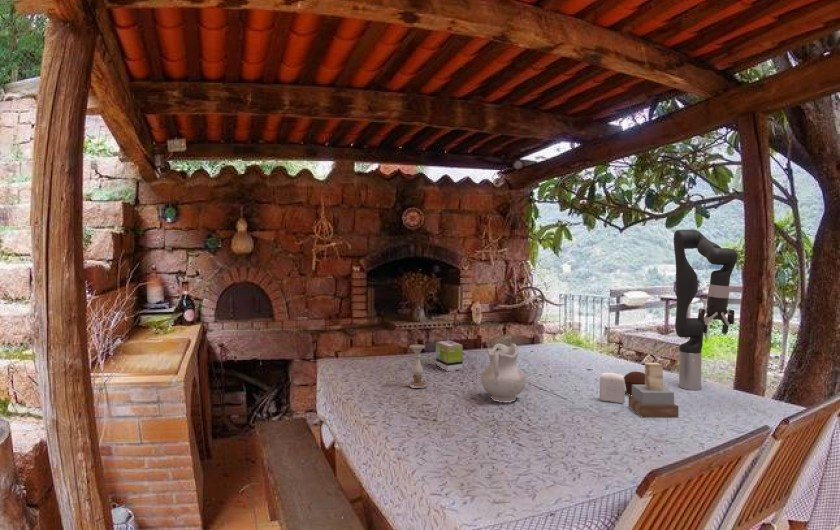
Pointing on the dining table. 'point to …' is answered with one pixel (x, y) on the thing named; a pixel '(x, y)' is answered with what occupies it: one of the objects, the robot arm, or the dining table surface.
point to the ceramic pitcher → (503, 373)
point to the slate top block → (652, 395)
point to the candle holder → (417, 365)
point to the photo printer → (612, 387)
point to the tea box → (449, 355)
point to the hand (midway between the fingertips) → (714, 333)
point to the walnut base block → (653, 409)
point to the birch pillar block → (654, 376)
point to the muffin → (634, 380)
